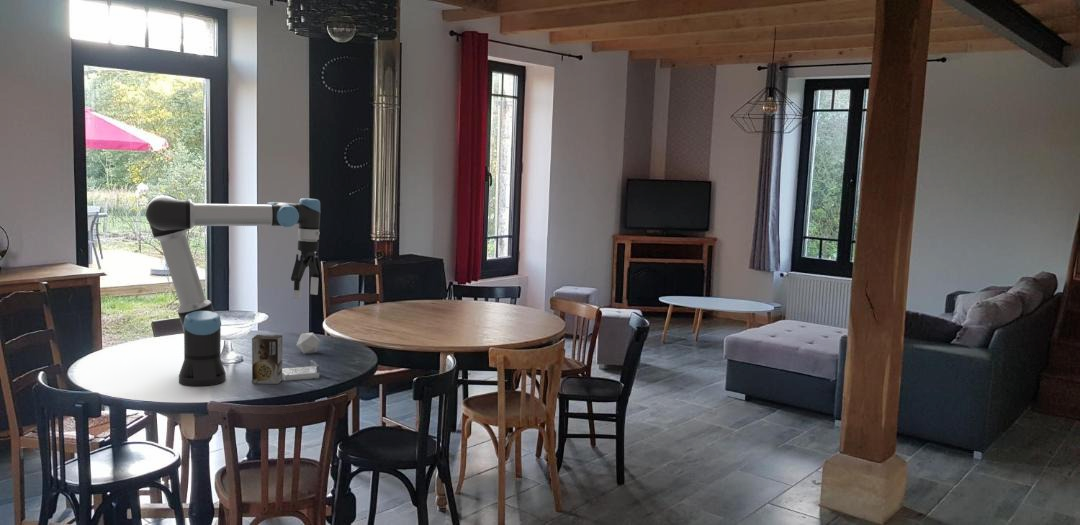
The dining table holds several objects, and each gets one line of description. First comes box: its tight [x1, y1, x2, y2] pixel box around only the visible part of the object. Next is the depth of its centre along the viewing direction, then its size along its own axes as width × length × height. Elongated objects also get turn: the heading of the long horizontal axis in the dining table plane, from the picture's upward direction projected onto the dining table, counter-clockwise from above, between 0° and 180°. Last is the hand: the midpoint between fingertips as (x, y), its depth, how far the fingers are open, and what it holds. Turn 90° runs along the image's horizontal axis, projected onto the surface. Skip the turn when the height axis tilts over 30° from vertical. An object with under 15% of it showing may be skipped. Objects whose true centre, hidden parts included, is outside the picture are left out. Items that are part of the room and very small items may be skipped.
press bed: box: [282, 359, 320, 382], centre depth 303 cm, size 12×10×4 cm
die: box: [296, 332, 321, 355], centre depth 340 cm, size 8×9×10 cm
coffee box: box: [251, 334, 283, 385], centre depth 293 cm, size 9×6×16 cm
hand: (305, 296), depth 316 cm, fingers open, 13 cm apart
